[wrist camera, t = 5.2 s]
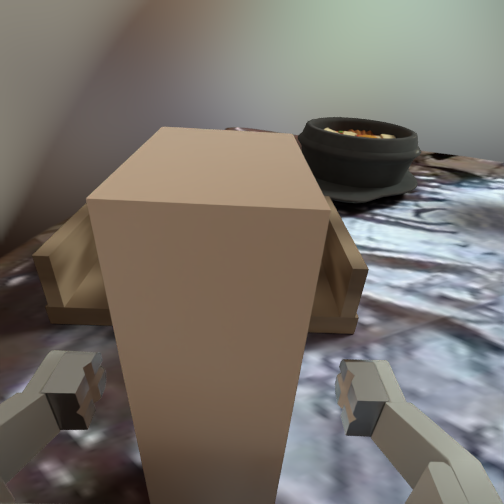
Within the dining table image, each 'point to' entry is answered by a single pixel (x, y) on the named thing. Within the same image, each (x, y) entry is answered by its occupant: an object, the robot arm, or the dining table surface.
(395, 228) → the dining table surface
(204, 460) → the beige rectangular block
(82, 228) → the drying rack
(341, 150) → the casserole
